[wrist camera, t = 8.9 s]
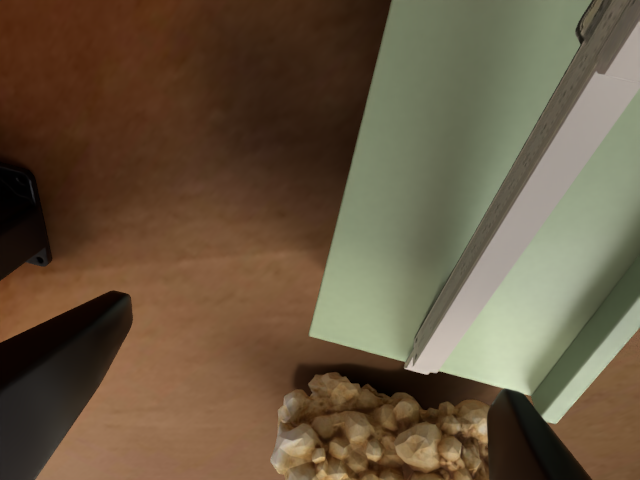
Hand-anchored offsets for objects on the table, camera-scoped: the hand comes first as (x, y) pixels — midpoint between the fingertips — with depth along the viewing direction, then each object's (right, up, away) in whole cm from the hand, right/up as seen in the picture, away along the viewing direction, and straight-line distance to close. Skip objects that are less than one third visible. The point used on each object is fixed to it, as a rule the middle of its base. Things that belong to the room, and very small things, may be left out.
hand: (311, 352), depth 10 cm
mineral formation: (+6, -10, +19) cm, 22 cm away
